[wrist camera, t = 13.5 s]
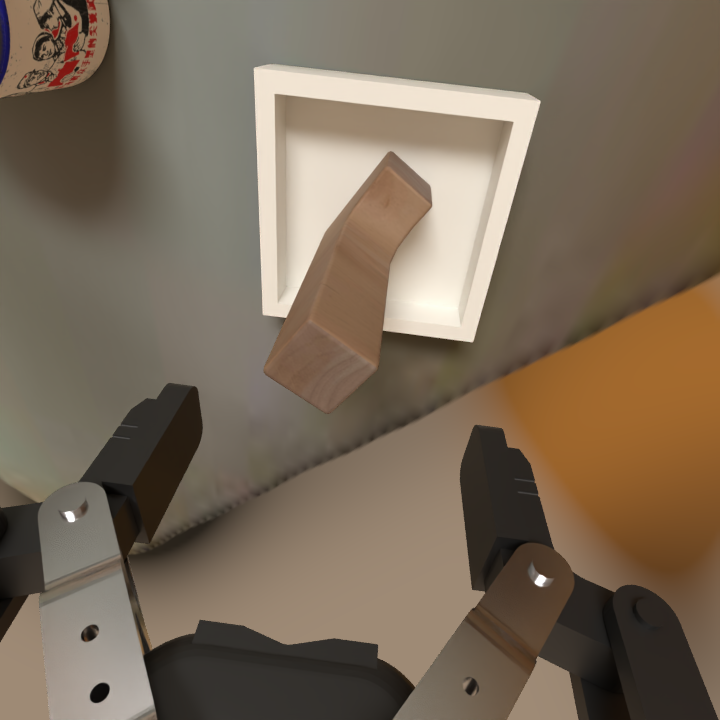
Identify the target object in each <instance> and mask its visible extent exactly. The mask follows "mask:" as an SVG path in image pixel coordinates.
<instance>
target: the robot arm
mask: <svg viewBox="0 0 720 720" xmlns="http://www.w3.org/2000/svg"><path fill="white" fill-rule="evenodd" d="M202 430H203V424H202V417H201V409H200V402H199V395H198V390H197V388H196V387H195V386H188V385H181V384H173V383H168V384H167V385H166V386H165V387H164V389H163V390H162V392H161V393H160V395H159V396H158V398H157V399H149V398H147V399H145V400H144V401H143V402H141V403H140V404H138V405H137V406H135V407H134V408H133V409H131V410H130V412H129V413H128V414H127V416H126V417H125V419H124V420H123V421H122V423H121V426H119V427H118V428H117V430H116V431H115V432H114V434H113V437H112V438H110V439H109V441H108V442H107V443H106V445H105V446H104V448H103V449H102V450H101V452H100V453H99V455H98V456H97V457H96V459H95V460H94V461H93V463H92V464H91V466H90V467H89V468H88V470H87V471H86V472H85V474H84V475H83V477H82V478H81V479H80V481H79V482H78V483H73V484H69V485H67V486H64V487H62V488H60V489H58V490H57V491H55V492H54V493H52V494H51V495H50V496H49V497H48V498H47V499H46V500H45V501H44V502H41V503H35V504H28V505H21V506H14V507H6V508H1V507H0V642H1V640H2V638H3V637H4V635H5V633H6V631H7V630H8V628H9V627H10V625H11V624H12V622H13V620H14V619H15V617H16V615H17V614H18V612H19V610H20V608H21V607H22V605H23V603H24V602H25V600H26V599H27V597H28V595H29V594H34V593H40V592H41V593H40V596H39V608H40V619H41V630H42V640H43V651H44V660H45V661H44V662H45V672H46V683H47V694H48V704H49V715H50V720H507V718H508V716H509V714H510V712H511V711H512V709H513V707H514V705H515V703H516V701H517V699H518V697H519V695H520V694H521V692H522V690H523V688H524V686H525V684H526V682H527V680H528V679H529V677H530V675H531V673H532V671H533V669H534V667H535V664H536V659H537V657H538V656H539V657H541V658H543V659H545V660H547V661H549V662H551V663H553V664H555V665H557V666H559V667H561V668H563V669H565V670H567V671H569V673H570V678H571V683H572V688H573V693H574V699H575V704H576V709H577V714H578V719H579V720H718V717H717V715H716V713H715V710H714V708H713V705H712V702H711V700H710V697H709V695H708V692H707V690H706V687H705V685H704V682H703V680H702V677H701V675H700V672H699V670H698V667H697V665H696V662H695V660H694V657H693V654H692V652H691V649H690V647H689V644H688V642H687V639H686V637H685V634H684V632H683V629H682V627H681V624H680V622H679V620H678V618H677V616H676V614H675V613H674V611H673V610H672V609H671V607H670V606H669V605H668V604H667V603H666V602H665V601H664V600H663V599H662V598H660V597H659V596H657V595H656V594H655V593H653V592H652V591H650V590H648V589H646V588H643V587H640V586H636V585H625V586H622V587H620V588H619V589H618V590H617V591H616V592H612V591H610V590H608V589H606V588H603V587H601V586H599V585H596V584H594V583H592V582H590V581H587V580H585V579H583V578H581V577H580V576H578V575H576V574H575V573H574V572H572V570H571V568H570V566H569V564H568V563H567V562H566V560H565V559H564V558H563V557H562V556H561V555H560V554H559V553H557V552H556V551H555V550H554V547H553V545H552V542H551V538H550V534H549V530H548V527H547V523H546V519H545V516H544V512H543V509H542V505H541V501H540V497H538V490H537V487H536V484H535V483H534V481H535V479H534V476H533V472H532V468H531V465H530V463H529V462H528V460H527V459H526V458H525V457H524V455H523V454H522V452H521V451H520V450H519V449H515V448H508V447H507V444H506V439H505V435H504V431H503V429H502V428H496V427H488V426H481V425H475V426H474V428H473V430H472V433H471V436H470V439H469V442H468V445H467V448H466V450H465V453H464V457H463V459H462V463H461V470H460V485H461V494H462V503H463V511H464V521H465V530H466V539H467V548H468V556H469V566H470V574H471V584H472V590H479V591H485V594H484V596H483V598H482V599H481V600H480V602H479V603H478V604H477V606H476V607H475V608H473V609H472V610H471V611H470V612H469V613H468V615H467V616H466V617H465V619H464V620H463V621H462V623H461V624H460V626H459V627H458V628H457V630H456V631H455V633H454V634H453V635H452V637H451V638H450V640H449V641H448V642H447V644H446V645H445V647H444V648H443V650H442V651H441V652H440V654H439V655H438V657H437V658H436V659H435V661H434V662H433V664H432V665H431V666H430V668H429V669H428V671H427V672H426V673H425V675H424V676H423V678H422V679H421V680H420V682H419V683H418V685H417V686H416V687H414V685H413V684H412V683H411V682H410V681H409V680H408V679H407V678H406V677H405V676H404V675H403V674H402V673H401V672H400V671H398V670H397V669H396V668H395V667H393V666H391V665H390V664H388V663H387V662H385V661H383V660H380V659H378V658H377V653H378V645H377V644H370V643H363V642H356V641H348V640H341V639H327V640H320V641H313V642H307V643H299V644H293V645H285V644H282V643H280V642H278V641H275V640H273V639H271V638H269V637H266V636H264V635H262V634H260V633H258V632H256V631H254V630H251V629H249V628H247V627H245V626H241V625H233V624H226V623H218V622H211V621H205V620H200V621H199V624H198V627H197V630H196V633H195V634H188V635H185V636H181V637H178V638H175V639H173V640H170V641H168V642H165V643H163V644H162V645H160V646H158V647H156V648H154V649H152V645H151V642H150V638H149V635H148V632H147V629H146V625H145V622H144V618H143V614H142V610H141V606H140V602H139V599H138V594H137V590H136V586H135V583H134V579H133V575H132V571H131V567H130V563H129V559H128V556H127V555H128V553H129V551H130V550H131V548H132V546H133V544H134V542H139V543H146V544H150V542H151V540H152V538H153V536H154V534H155V532H156V530H157V528H158V526H159V524H160V522H161V520H162V518H163V516H164V514H165V512H166V510H167V508H168V506H169V504H170V502H171V500H172V498H173V496H174V494H175V492H176V490H177V488H178V486H179V484H180V482H181V480H182V478H183V476H184V474H185V472H186V470H187V468H188V466H189V464H190V462H191V460H192V458H193V456H194V454H195V452H196V450H197V448H198V446H199V444H200V441H201V437H202Z"/></svg>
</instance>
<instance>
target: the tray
mask: <svg viewBox="0 0 720 720" xmlns="http://www.w3.org/2000/svg"><path fill="white" fill-rule="evenodd" d="M254 83H255V110H256V137H257V165H258V192H259V220H260V247H261V275H262V302H263V315H269V316H276V317H284V318H286V317H287V315H288V313H289V311H290V309H291V306H292V304H293V302H294V300H295V297H296V295H297V293H298V291H299V289H300V286H301V284H302V282H303V280H304V278H305V275H306V273H307V271H308V269H309V267H310V264H311V262H312V260H313V258H314V255H315V253H316V251H317V249H318V247H319V244H320V242H321V240H322V238H323V236H324V233H325V232H326V230H327V229H328V228H329V226H330V225H331V224H332V223H333V221H334V220H335V219H336V218H337V216H338V215H339V214H340V212H341V211H342V210H343V209H344V207H345V206H346V205H347V204H348V202H349V201H350V200H351V198H352V197H353V196H354V195H355V193H356V192H357V191H358V190H359V188H360V187H361V186H362V184H363V183H364V182H365V181H366V179H367V178H368V177H369V176H370V174H371V173H372V172H373V171H374V169H375V168H376V167H377V165H378V164H379V163H380V162H381V160H382V159H383V158H384V157H385V155H386V154H387V153H388V152H390V151H392V152H394V153H395V154H396V155H397V156H398V157H399V158H400V159H402V160H403V161H404V162H405V163H406V164H407V165H408V166H409V167H410V168H411V169H413V170H414V171H415V172H416V173H417V174H418V175H419V176H420V177H421V178H423V179H424V180H425V181H426V182H427V183H428V184H429V185H430V187H431V194H432V208H431V209H430V210H429V211H428V212H427V213H426V214H425V216H424V217H423V218H422V219H421V220H420V221H419V222H418V223H417V224H416V225H415V227H414V228H413V229H412V230H411V231H410V233H409V234H408V235H407V237H406V238H405V240H404V241H403V242H402V244H401V245H400V246H399V248H398V249H397V251H396V253H395V255H394V257H393V260H392V262H391V264H390V272H389V280H388V289H387V298H386V307H385V316H384V324H383V331H391V332H398V333H406V334H414V335H421V336H429V337H436V338H444V339H452V340H459V341H467V342H473V340H474V336H475V333H476V329H477V326H478V322H479V319H480V315H481V312H482V308H483V304H484V301H485V297H486V294H487V290H488V287H489V283H490V280H491V276H492V272H493V269H494V265H495V262H496V258H497V255H498V251H499V247H500V244H501V240H502V237H503V233H504V230H505V226H506V223H507V219H508V215H509V212H510V208H511V205H512V201H513V198H514V194H515V191H516V187H517V183H518V180H519V176H520V173H521V169H522V166H523V162H524V158H525V155H526V151H527V148H528V144H529V141H530V137H531V134H532V130H533V126H534V123H535V119H536V116H537V112H538V109H539V105H540V102H541V101H539V100H538V99H536V98H534V97H533V96H531V95H529V94H528V93H522V92H514V91H505V90H496V89H488V88H479V87H471V86H462V85H453V84H445V83H436V82H427V81H419V80H410V79H401V78H393V77H384V76H375V75H367V74H358V73H349V72H341V71H332V70H324V69H315V68H306V67H298V66H289V65H280V64H268V65H264V66H260V67H256V68H254Z"/></svg>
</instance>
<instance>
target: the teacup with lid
mask: <svg viewBox="0 0 720 720" xmlns="http://www.w3.org/2000/svg"><path fill="white" fill-rule="evenodd" d="M109 34H110V14H109V6H108V1H107V0H0V99H1V98H7V97H13V96H19V95H25V94H31V93H37V92H43V91H48V90H54V89H60V88H66V87H71V86H74V85H77V84H79V83H81V82H83V81H85V80H86V79H88V78H89V77H90V76H91V75H92V74H94V72H95V71H96V70H97V69H98V67H99V66H100V64H101V62H102V60H103V58H104V56H105V53H106V50H107V46H108V42H109Z"/></svg>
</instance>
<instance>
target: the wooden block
mask: <svg viewBox="0 0 720 720" xmlns="http://www.w3.org/2000/svg"><path fill="white" fill-rule="evenodd" d="M431 208H432V194H431V187H430V185H429V184H428V183H427V182H426V181H425V180H424V179H423V178H421V177H420V176H419V175H418V174H417V173H416V172H415V171H414V170H413V169H411V168H410V167H409V166H408V165H407V164H406V163H405V162H404V161H403V160H402V159H400V158H399V157H398V156H397V155H396V154H395V153H394V152H392V151H390V152H388V153H387V154H386V155H385V157H384V158H383V159H382V160H381V162H380V163H379V164H378V165H377V167H376V168H375V169H374V171H373V172H372V173H371V174H370V176H369V177H368V178H367V179H366V181H365V182H364V183H363V184H362V186H361V187H360V188H359V190H358V191H357V192H356V193H355V195H354V196H353V197H352V198H351V200H350V201H349V202H348V204H347V205H346V206H345V207H344V209H343V210H342V211H341V212H340V214H339V215H338V216H337V218H336V219H335V220H334V221H333V223H332V224H331V225H330V226H329V228H328V229H327V230H326V232H325V233H324V236H323V238H322V240H321V242H320V244H319V247H318V249H317V251H316V253H315V255H314V258H313V260H312V262H311V264H310V267H309V269H308V271H307V273H306V275H305V278H304V280H303V282H302V284H301V286H300V289H299V291H298V293H297V295H296V297H295V300H294V302H293V304H292V306H291V309H290V311H289V313H288V315H287V317H286V320H285V322H284V324H283V326H282V329H281V331H280V333H279V335H278V337H277V340H276V342H275V344H274V346H273V348H272V351H271V353H270V355H269V357H268V360H267V362H266V364H265V366H264V373H265V374H266V375H267V376H268V377H270V378H271V379H273V380H275V381H276V382H278V383H279V384H281V385H282V386H284V387H285V388H287V389H288V390H290V391H292V392H293V393H295V394H296V395H298V396H299V397H301V398H302V399H304V400H305V401H307V402H309V403H310V404H312V405H313V406H315V407H316V408H318V409H319V410H321V411H322V412H324V413H326V414H330V413H331V412H332V411H333V410H335V409H336V408H337V407H338V406H339V405H340V404H341V403H342V402H343V401H344V400H345V399H346V398H348V397H349V396H350V395H351V394H352V393H353V392H354V391H355V390H356V389H357V388H358V387H359V386H361V385H362V384H363V383H364V382H365V381H366V380H367V379H368V378H369V377H370V376H371V375H372V374H374V373H375V372H376V371H377V369H378V367H379V359H380V351H381V342H382V333H383V324H384V316H385V307H386V298H387V289H388V280H389V272H390V264H391V262H392V260H393V257H394V255H395V253H396V251H397V249H398V248H399V246H400V245H401V244H402V242H403V241H404V240H405V238H406V237H407V235H408V234H409V233H410V231H411V230H412V229H413V228H414V227H415V225H416V224H417V223H418V222H419V221H420V220H421V219H422V218H423V217H424V216H425V214H426V213H427V212H428V211H429V210H430V209H431Z"/></svg>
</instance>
